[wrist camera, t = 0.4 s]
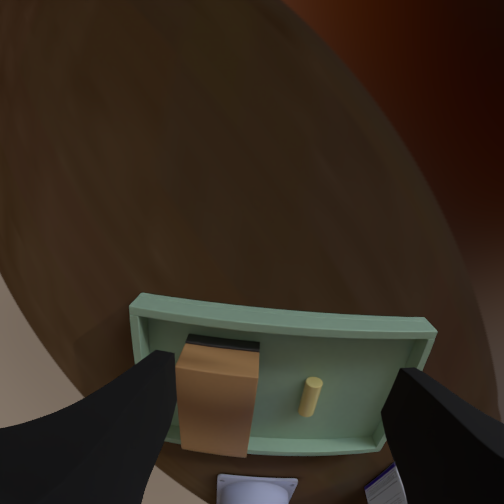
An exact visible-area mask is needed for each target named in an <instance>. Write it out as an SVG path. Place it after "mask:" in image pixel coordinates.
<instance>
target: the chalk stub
mask: <svg viewBox="0 0 504 504" xmlns="http://www.w3.org/2000/svg"><path fill="white" fill-rule="evenodd" d="M322 386H323V381H322V380H321V379H320V378H318V377H308V378H307V379H306V381H305V385H304V388H303V392H302V396H301V400H300V403H299V407H298V413H299V415H301V416H303V417H310V416H312V415H313V414H314V411H315V408H316V405H317V402H318V399H319V396H320V392H321V389H322Z"/></svg>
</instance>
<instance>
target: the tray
mask: <svg viewBox="0 0 504 504" xmlns="http://www.w3.org/2000/svg"><path fill="white" fill-rule="evenodd" d="M129 313H130V326H131V336H132V345H133V353H134V361H135V364H137V363H138V362H139V361H141V360H142V359H143V358H145V357H146V356H148V355H149V354H150V353H152V352H153V351H155V350H161V351H167V352H172V353H175V365H176V363H177V361H178V358H179V356H180V354H181V352H182V349H183V347H184V345H185V341H186V339H187V336H188V334H196V335H204V336H211V337H219V338H227V339H236V340H245V341H255V342H260V352H259V378H258V385H257V392H256V399H255V405H254V412H253V418H252V425H251V431H250V438H249V444H248V450H247V454H259V455H277V456H327V455H345V454H358V453H368V452H377V451H380V450H381V448H382V447H383V445H384V443H385V442H386V440H387V439H386V436H385V432H384V427H383V422H382V417H381V410H382V408H383V406H384V404H385V401H386V399H387V397H388V395H389V393H390V390H391V388H392V386H393V384H394V381H395V379H396V376H397V374H398V372H399V369H400V368H411V367H415V368H417V369H419V370H420V371H422V370H423V367H424V365H425V363H426V360H427V358H428V356H429V353H430V351H431V348H432V345H433V343H434V340H435V337H436V334H437V330H436V329H435V328H434V327H433V326H432V325H431V324H430V323H429V322H428V321H427V320H426V319H425V318H424V317H390V316H366V315H348V314H331V313H317V312H304V311H292V310H280V309H269V308H259V307H249V306H240V305H231V304H222V303H213V302H205V301H197V300H190V299H182V298H175V297H168V296H161V295H154V294H147V293H141V294H140V295H139V296H138V297H137V298H136V299H135V300H134V301H133V302H132V303H131V304H130V305H129ZM308 377H318V378H320V379H321V380H322V381H323V386H322V389H321V392H320V396H319V399H318V402H317V405H316V408H315V411H314V414H313V415H312V416H310V417H303V416H301V415H299V413H298V407H299V403H300V400H301V396H302V392H303V388H304V385H305V381H306V379H307V378H308ZM165 441H167V442H171V443H176V444H181V439H180V429H179V418H178V407H177V403H176V407H175V411H174V415H173V418H172V422H171V426H170V428H169V431H168V433H167V436H166V438H165Z"/></svg>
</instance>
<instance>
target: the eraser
mask: <svg viewBox="0 0 504 504" xmlns="http://www.w3.org/2000/svg"><path fill="white" fill-rule="evenodd" d="M259 352H260V342H255V341H245V340H236V339H227V338H219V337H211V336H204V335H196V334H188V336H187V339H186V341H185V345H184V347H183V349H182V352H181V354H180V356H179V358H178V361H177V363H176V365H175V372H176V390H177V407H178V418H179V429H180V439H181V448H182V449H185V450H191V451H197V452H203V453H210V454H217V455H224V456H233V457H243V458H246V456H247V450H248V444H249V438H250V431H251V425H252V418H253V412H254V405H255V399H256V392H257V385H258V378H259Z"/></svg>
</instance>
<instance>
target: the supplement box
mask: <svg viewBox="0 0 504 504" xmlns="http://www.w3.org/2000/svg"><path fill="white" fill-rule="evenodd" d="M364 489H365V493H366V497H367V502H368V504H407V500H406V495H405V491H404V487H403V484H402V481H401V478H400V475H399V473H398V470H397V467H396V464H395V462H394V463H392V464H391V465H390V466H389V467H388V468H387V469H386V470H384V471H383V472H382V473H381V474H380V475H379V476H377V477H376V478H375V479H374V480H372V481H371V482H370V483H369V484H367V485H366V486H365V487H364Z"/></svg>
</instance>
